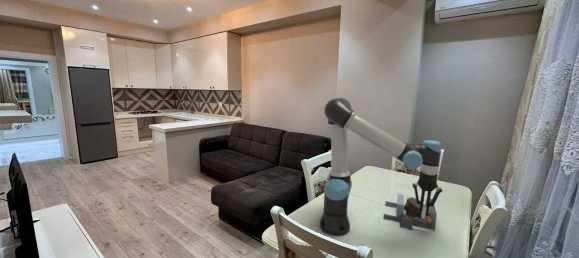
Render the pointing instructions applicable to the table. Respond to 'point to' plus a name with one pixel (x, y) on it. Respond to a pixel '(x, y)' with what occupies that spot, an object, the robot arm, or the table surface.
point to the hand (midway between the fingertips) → (422, 217)
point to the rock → (413, 208)
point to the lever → (427, 219)
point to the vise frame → (409, 222)
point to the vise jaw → (400, 205)
